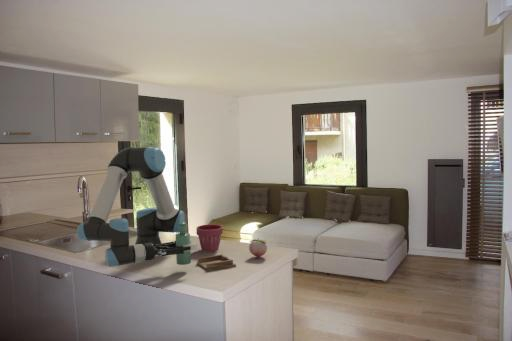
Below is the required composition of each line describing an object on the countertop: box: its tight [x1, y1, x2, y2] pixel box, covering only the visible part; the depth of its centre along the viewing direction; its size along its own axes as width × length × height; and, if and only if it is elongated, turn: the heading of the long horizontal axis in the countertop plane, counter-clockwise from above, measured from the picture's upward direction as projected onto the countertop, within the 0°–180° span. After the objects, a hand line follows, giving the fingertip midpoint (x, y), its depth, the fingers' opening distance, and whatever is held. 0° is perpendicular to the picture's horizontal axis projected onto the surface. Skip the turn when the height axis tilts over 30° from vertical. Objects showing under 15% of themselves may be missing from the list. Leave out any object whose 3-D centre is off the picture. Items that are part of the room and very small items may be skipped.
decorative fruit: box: [248, 239, 268, 258], centre depth 205 cm, size 9×8×10 cm
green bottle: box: [175, 222, 192, 266], centre depth 184 cm, size 6×6×18 cm
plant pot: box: [196, 223, 224, 253], centre depth 221 cm, size 14×14×13 cm
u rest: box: [196, 253, 237, 272], centre depth 193 cm, size 14×14×3 cm
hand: (193, 244), depth 186 cm, fingers closed on green bottle, 6 cm apart
